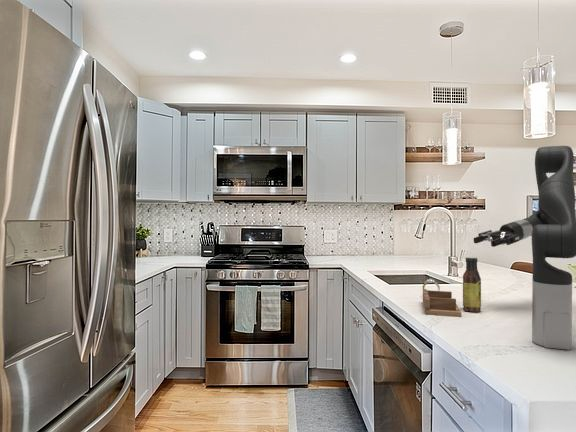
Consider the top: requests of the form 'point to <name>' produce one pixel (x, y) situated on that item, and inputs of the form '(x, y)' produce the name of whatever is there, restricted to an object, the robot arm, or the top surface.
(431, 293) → the rack
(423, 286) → the ring
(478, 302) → the sauce bottle
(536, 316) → the robot arm
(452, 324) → the top surface
